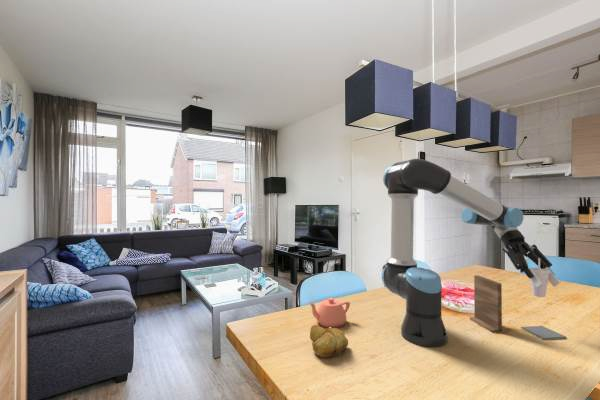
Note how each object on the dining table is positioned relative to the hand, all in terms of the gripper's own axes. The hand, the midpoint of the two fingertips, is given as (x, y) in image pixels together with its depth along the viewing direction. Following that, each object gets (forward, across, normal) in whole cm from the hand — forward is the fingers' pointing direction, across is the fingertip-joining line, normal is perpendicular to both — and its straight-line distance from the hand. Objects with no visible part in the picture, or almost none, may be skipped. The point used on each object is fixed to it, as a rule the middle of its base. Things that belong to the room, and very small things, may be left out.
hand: (548, 285), depth 103 cm
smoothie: (+1, 0, -6) cm, 6 cm away
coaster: (+11, 0, -15) cm, 18 cm away
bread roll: (+13, +80, -14) cm, 82 cm away
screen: (+5, +15, -21) cm, 26 cm away
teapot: (-2, +76, -29) cm, 81 cm away
